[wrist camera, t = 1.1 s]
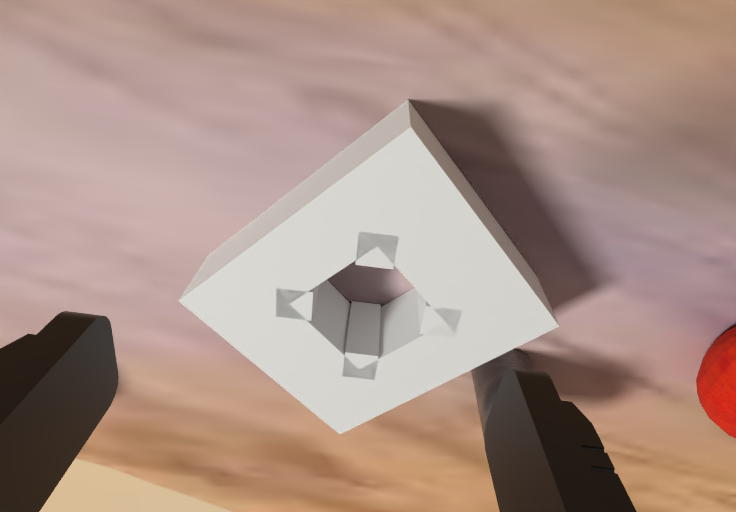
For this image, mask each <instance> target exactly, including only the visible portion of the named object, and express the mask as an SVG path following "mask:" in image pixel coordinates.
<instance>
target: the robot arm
mask: <svg viewBox="0 0 736 512" xmlns="http://www.w3.org/2000/svg"><path fill="white" fill-rule="evenodd" d="M117 385H118V369H117V363H116V356H115V349H114V343H113V336H112V329H111V324H110V321H109V319H108V318H107V317H105V316H99V315H91V314H84V313H76V312H68V311H64V312H61V313H60V314H58V315H57V316H56V317H55V318H54V319H53V320H51V321H50V322H49V323H48V324H47V325H46V326H45V327H44V328H43V329H42V330H41V331H40V332H39V333H38V334H37V335H33V334H27V335H25V336H23V337H21V338H20V339H18V340H16V341H14V342H12V343H10V344H8V345H6V346H5V347H3V348H1V349H0V512H39V511H40V510H41V508H42V507H43V505H44V504H45V502H46V501H47V499H48V498H49V496H50V495H51V493H52V492H53V490H54V489H55V487H56V486H57V484H58V483H59V481H60V480H61V478H62V477H63V475H64V474H65V472H66V471H67V469H68V468H69V467H70V465H71V464H72V462H73V460H74V459H75V458H76V456H77V455H78V453H79V452H80V450H81V449H82V447H83V446H84V444H85V443H86V441H87V440H88V438H89V437H90V435H91V434H92V432H93V431H94V429H95V428H96V426H97V425H98V423H99V422H100V420H101V419H102V417H103V416H104V414H105V413H106V411H107V410H108V408H109V407H110V405H111V403H112V401H113V399H114V396H115V394H116V390H117ZM485 450H486V455H487V459H488V463H489V468H490V472H491V476H492V480H493V485H494V489H495V493H496V497H497V502H498V506H499V510H500V512H636V510H635V508H634V506H633V504H632V502H631V500H630V498H629V496H628V494H627V492H626V490H625V488H624V486H623V484H622V482H621V480H620V478H619V476H618V474H615V472H614V469H615V468H614V466H613V464H612V462H611V460H610V458H609V456H608V454H607V453H605V452H604V446H603V444H602V442H601V440H600V438H599V436H598V434H597V432H596V430H595V429H594V427H593V425H592V423H591V422H590V421H589V420H588V419H587V418H586V417H585V416H584V415H583V414H582V412H581V411H580V410H579V409H578V408H577V407H576V406H575V405H574V404H573V403H572V402H568V401H561V400H560V397H559V395H558V393H557V391H556V389H555V386H554V384H553V382H552V380H551V378H550V376H549V375H548V374H547V373H544V372H536V371H528V370H520V369H512V368H509V369H507V370H506V371H505V373H504V375H503V378H502V380H501V383H500V386H499V389H498V391H497V394H496V397H495V399H494V402H493V405H492V408H491V410H490V413H489V416H488V419H487V422H486V427H485Z"/></svg>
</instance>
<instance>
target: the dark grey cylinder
mask: <svg viewBox="0 0 736 512" xmlns="http://www.w3.org/2000/svg"><path fill="white" fill-rule="evenodd" d="M509 368H512V369H520V370H528V371H535V370H534V368H533V365H532V362H531V360H530V358H529V357H528V356H527V354H525V353H524V352H522V351H520V350H518V349H515V348H514V349H512V350H510V351H508V352H506V353H504V354H502V355H500V356H498V357H496V358H494V359H492V360H490V361H488V362H486V363H484V364H482V365H480V366H478V367H476V368H474V369H472V371H471V372H472V378H473V383H474V388H475V394H476V399H477V404H478V409H479V415H480V420H481V425H482V431H483V436H484V441H485V427H486V422H487V419H488V416H489V413H490V410H491V408H492V405H493V402H494V399H495V397H496V394H497V391H498V389H499V386H500V383H501V380H502V378H503V375H504V373H505V371H506V370H507V369H509ZM490 473H491V472H490Z"/></svg>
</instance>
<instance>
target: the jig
mask: <svg viewBox="0 0 736 512" xmlns="http://www.w3.org/2000/svg"><path fill="white" fill-rule="evenodd" d="M354 261H356V263H355V265H360V266H369V267H377V268H385V269H393V268H394V265H395V267H396V268H397V269H398V270H399V271H400V272H401V273H402V274H403V276H404V277H405V278H406V279H407V280H408V281H409V282H410V283H411V285H412V286H413V287H414V288H412V289H411V290H409V291H407V292H406V293H404V294H402V295H401V296H399V297H397V298H396V299H394V300H392V301H391V302H389V303H387V304H386V305H384V306H382V307H381V304H373V303H364V302H356V301H352V302H351V304H350V303H349V302H348V301H347V300H346V299H345V298H344V297H343V296H342V294H341V293H340V292H339V291H338V290H337V289H336V288H335V287H334V286H333V285H332V284H331V283H330V282H329V281H328V280H327V279H328V278H330V277H331V276H333V275H334V274H336V273H337V272H339V271H340V270H342V269H343V268H345V267H346V266H348V265H349V264H351V263H353V262H354ZM179 302H180V303H182V304H183V305H184V306H185V307H186V308H188V309H189V310H190V311H191V312H192V313H194V314H195V315H196V316H197V317H198V318H200V319H201V320H202V321H203V322H204V323H206V324H207V325H208V326H209V327H211V328H212V329H213V330H214V331H215V332H217V333H218V334H219V335H220V336H221V337H223V338H224V339H225V340H226V341H227V342H229V343H230V344H231V345H232V346H233V347H235V348H236V349H237V350H238V351H240V352H241V353H242V354H243V355H244V356H246V357H247V358H248V359H249V360H250V361H252V362H253V363H254V364H255V365H256V366H258V367H259V368H260V369H261V370H262V371H264V372H265V373H266V374H267V375H269V376H270V377H271V378H272V379H273V380H275V381H276V382H277V383H278V384H279V385H281V386H282V387H283V388H284V389H285V390H287V391H288V392H289V393H290V394H291V395H293V396H294V397H295V398H296V399H298V400H299V401H300V402H301V403H302V404H304V405H305V406H306V407H307V408H308V409H310V410H311V411H312V412H313V413H314V414H316V415H317V416H318V417H319V418H320V419H322V420H323V421H324V422H325V423H327V424H328V425H329V426H330V427H331V428H333V429H334V430H335V431H336V432H337V433H339V434H342V433H344V432H346V431H348V430H350V429H352V428H354V427H356V426H358V425H360V424H362V423H364V422H366V421H368V420H370V419H372V418H374V417H376V416H378V415H380V414H382V413H384V412H386V411H388V410H390V409H392V408H394V407H396V406H399V405H401V404H403V403H405V402H407V401H409V400H411V399H413V398H415V397H417V396H419V395H421V394H423V393H425V392H427V391H429V390H431V389H433V388H435V387H437V386H439V385H441V384H443V383H445V382H447V381H449V380H451V379H453V378H455V377H457V376H459V375H461V374H463V373H466V372H468V371H470V370H472V369H474V368H476V367H478V366H480V365H482V364H484V363H486V362H488V361H490V360H492V359H494V358H496V357H498V356H500V355H502V354H504V353H506V352H508V351H510V350H512V349H514V348H516V347H518V346H520V345H522V344H524V343H526V342H528V341H530V340H533V339H535V338H537V337H539V336H541V335H543V334H545V333H547V332H549V331H551V330H553V329H555V328H557V327H559V324H558V322H557V320H556V317H555V315H554V313H553V311H552V309H551V306H550V304H549V302H548V300H547V298H546V296H545V293H544V291H543V289H542V287H541V285H540V282H539V280H538V278H537V276H536V274H535V273H534V272H533V270H532V269H531V268H530V266H529V265H528V263H527V262H526V261H525V259H524V258H523V257H522V255H521V254H520V252H519V251H518V250H517V248H516V247H515V246H514V244H513V243H512V241H511V240H510V239H509V237H508V236H507V235H506V233H505V232H504V230H503V229H502V228H501V226H500V225H499V224H498V222H497V221H496V219H495V218H494V217H493V215H492V214H491V213H490V211H489V210H488V209H487V207H486V206H485V204H484V203H483V202H482V200H481V199H480V198H479V196H478V195H477V193H476V192H475V191H474V189H473V188H472V187H471V185H470V184H469V182H468V181H467V180H466V178H465V177H464V176H463V174H462V173H461V171H460V170H459V169H458V167H457V166H456V165H455V163H454V162H453V160H452V159H451V158H450V156H449V155H448V154H447V152H446V151H445V149H444V148H443V147H442V145H441V144H440V143H439V141H438V140H437V138H436V137H435V136H434V134H433V133H432V132H431V130H430V129H429V128H428V126H427V125H426V123H425V122H424V121H423V119H422V118H421V117H420V115H419V114H418V112H417V111H416V110H415V108H414V107H413V106H412V104H411V103H410V101H409V100H406V101H405V102H404V103H403V104H401V105H400V106H399V107H397V108H396V109H395V110H394V111H392V112H391V113H390V114H388V115H387V116H386V117H385V118H383V119H382V120H381V121H379V122H378V123H377V124H376V125H374V126H373V127H372V128H370V129H369V130H368V131H367V132H365V133H364V134H363V135H361V136H360V137H359V138H358V139H356V140H355V141H354V142H352V143H351V144H350V145H349V146H347V147H346V148H345V149H343V150H342V151H341V152H340V153H338V154H337V155H336V156H334V157H333V158H332V159H330V160H329V161H328V162H327V163H325V164H324V165H323V166H321V167H320V168H319V169H318V170H316V171H315V172H314V173H312V174H311V175H310V176H309V177H307V178H306V179H305V180H303V181H302V182H301V183H300V184H298V185H297V186H296V187H294V188H293V189H292V190H291V191H289V192H288V193H287V194H285V195H284V196H283V197H282V198H280V199H279V200H278V201H276V202H275V203H274V204H273V205H271V206H270V207H269V208H267V209H266V210H265V211H264V212H262V213H261V214H260V215H258V216H257V217H256V218H255V219H253V220H252V221H251V222H249V223H248V224H247V225H246V226H244V227H243V228H242V229H240V230H239V231H238V232H237V233H235V234H234V235H233V236H231V237H230V238H229V239H228V240H226V241H225V242H224V243H222V244H221V245H220V246H219V247H217V248H216V249H215V250H213V251H212V252H211V253H210V254H208V256H207V257H206V259H205V260H204V262H203V264H202V265H201V267H200V268H199V270H198V271H197V273H196V274H195V276H194V277H193V279H192V281H191V282H190V284H189V285H188V287H187V288H186V290H185V291H184V293H183V294H182V296H181V298H180V299H179Z"/></svg>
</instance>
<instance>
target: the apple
mask: <svg viewBox="0 0 736 512" xmlns="http://www.w3.org/2000/svg"><path fill="white" fill-rule="evenodd" d="M696 382H697V393H698V397H699V401H700V403H701V405H702V407H703V408H704V410H705V412H706V413H707V415H708V417H709V418H710V419H711V420H712V421H713V422H714V423H716V424H717V425H718V426H719V427H720V428H721V429H722V430H724V431H725V432H726V433H727V434H728V435H730V436H732V437H734V438H736V327H734V328H732V329H730V330H728V331H726V332H725V333H724V334H723V335H721V336H720V337H719V338H718V339H716V341H715V342H714V343H713V344H712V346H711V347H710V348H709V349H708V351H707V352H706V354H705V356H704V358H703V360H702V363H701V366H700V369H699V372H698V376H697V379H696Z"/></svg>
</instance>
